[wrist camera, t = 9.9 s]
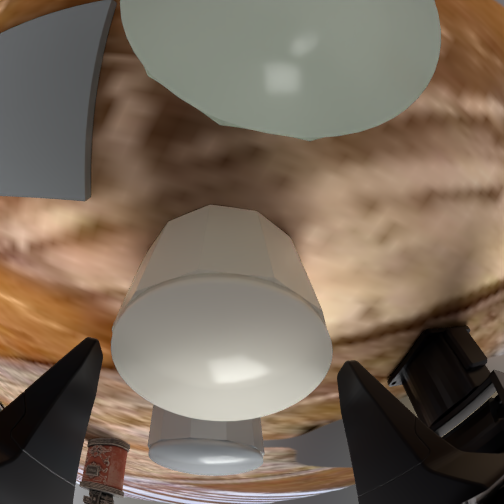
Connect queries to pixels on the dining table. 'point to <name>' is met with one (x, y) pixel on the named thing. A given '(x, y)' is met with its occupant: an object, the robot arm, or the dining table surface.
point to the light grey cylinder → (205, 444)
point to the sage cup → (289, 59)
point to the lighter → (104, 470)
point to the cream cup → (221, 320)
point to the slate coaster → (51, 101)
